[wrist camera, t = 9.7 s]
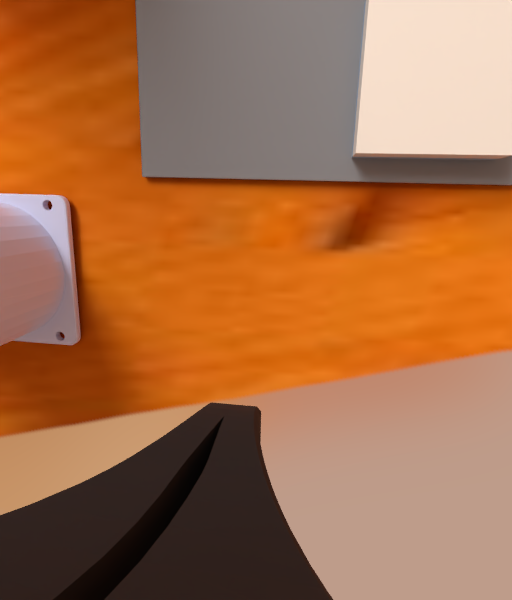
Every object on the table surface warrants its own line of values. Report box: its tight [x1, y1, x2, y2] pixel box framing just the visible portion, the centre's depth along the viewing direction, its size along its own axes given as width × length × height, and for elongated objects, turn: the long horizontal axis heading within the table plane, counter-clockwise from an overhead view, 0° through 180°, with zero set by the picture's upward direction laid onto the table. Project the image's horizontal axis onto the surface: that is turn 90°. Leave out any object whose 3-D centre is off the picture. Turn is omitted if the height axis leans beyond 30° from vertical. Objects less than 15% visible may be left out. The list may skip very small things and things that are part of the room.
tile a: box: [351, 0, 512, 160], centre depth 15 cm, size 2×6×6 cm
